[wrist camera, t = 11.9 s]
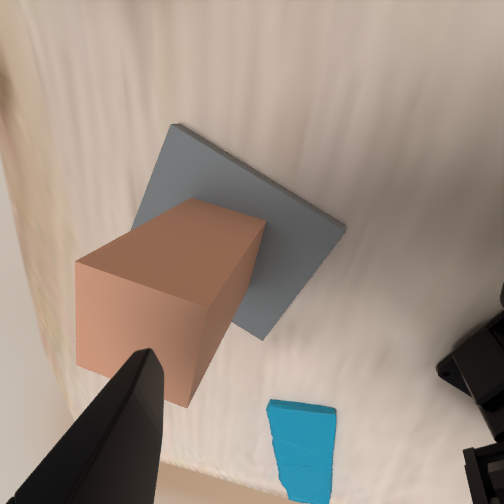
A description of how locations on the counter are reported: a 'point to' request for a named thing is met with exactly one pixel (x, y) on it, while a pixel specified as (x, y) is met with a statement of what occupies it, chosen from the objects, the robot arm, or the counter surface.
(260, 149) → the counter surface
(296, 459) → the sponge
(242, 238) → the terracotta block
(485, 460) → the robot arm
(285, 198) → the slate board
